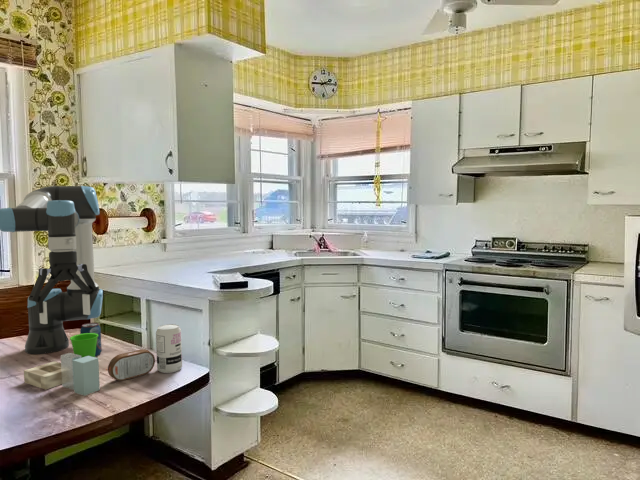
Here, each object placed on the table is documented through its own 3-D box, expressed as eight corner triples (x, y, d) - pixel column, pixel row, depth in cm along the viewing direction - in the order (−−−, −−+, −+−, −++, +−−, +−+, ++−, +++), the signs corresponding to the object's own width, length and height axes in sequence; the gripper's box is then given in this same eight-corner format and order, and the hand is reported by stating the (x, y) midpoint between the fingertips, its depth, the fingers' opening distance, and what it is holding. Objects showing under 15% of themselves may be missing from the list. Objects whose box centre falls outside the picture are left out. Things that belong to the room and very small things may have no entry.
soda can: (103, 356, 175) (101, 324, 174) (82, 359, 171) (81, 327, 170) (100, 351, 181) (98, 321, 180) (80, 354, 177) (78, 323, 176)
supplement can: (160, 365, 163) (159, 324, 162) (184, 365, 164) (183, 323, 163) (154, 374, 155) (152, 330, 154) (179, 373, 156) (177, 329, 155)
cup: (88, 372, 158) (86, 340, 157) (65, 370, 160) (63, 339, 159) (105, 363, 166) (104, 333, 166) (83, 362, 168) (82, 332, 167)
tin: (152, 370, 160) (151, 346, 159) (156, 372, 157) (155, 348, 157) (107, 382, 149) (106, 356, 148) (111, 384, 147) (110, 358, 146)
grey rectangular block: (71, 383, 148) (69, 352, 147) (82, 386, 145) (81, 355, 144) (62, 386, 145) (60, 355, 145) (73, 390, 143) (72, 358, 142)
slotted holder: (55, 372, 158) (54, 361, 157) (76, 379, 152) (75, 367, 151) (24, 382, 149) (23, 370, 149) (45, 389, 143) (45, 377, 143)
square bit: (89, 386, 145) (88, 355, 144) (99, 389, 142) (98, 358, 142) (74, 392, 141) (72, 360, 140) (84, 395, 138) (83, 363, 137)
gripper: (26, 254, 130) (30, 329, 131) (107, 247, 151) (109, 312, 152) (12, 253, 134) (16, 326, 135) (93, 247, 155) (95, 310, 156)
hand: (66, 318), depth 144 cm, fingers open, 13 cm apart
